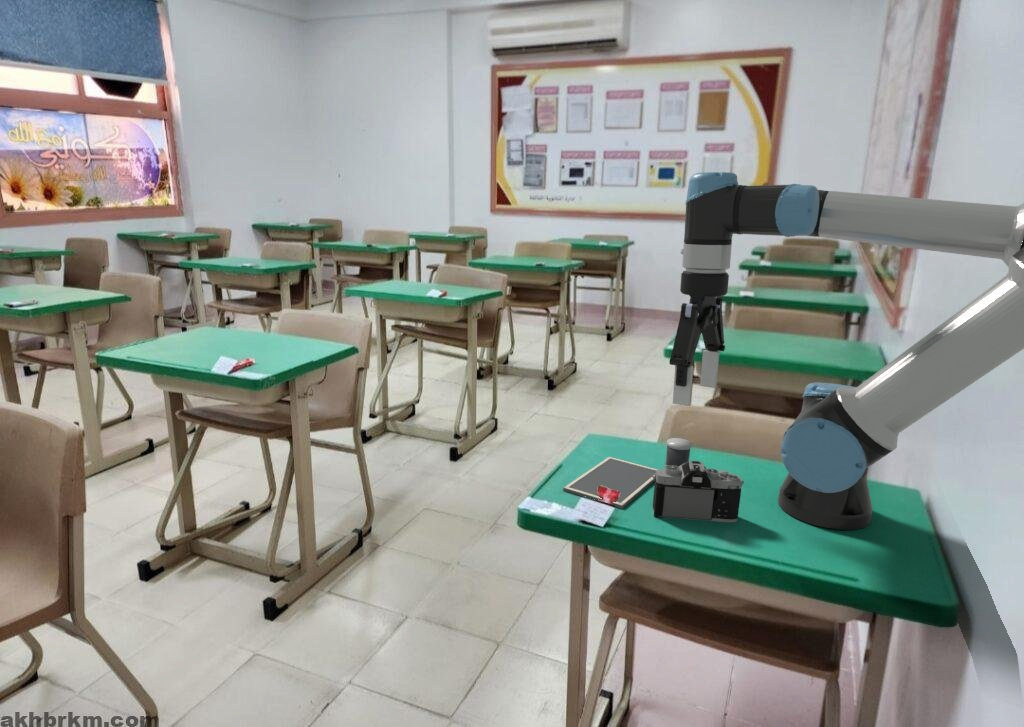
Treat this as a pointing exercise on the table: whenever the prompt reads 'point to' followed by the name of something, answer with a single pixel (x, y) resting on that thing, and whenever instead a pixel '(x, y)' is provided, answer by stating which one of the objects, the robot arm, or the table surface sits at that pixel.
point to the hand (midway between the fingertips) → (695, 395)
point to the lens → (677, 451)
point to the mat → (613, 480)
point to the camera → (696, 493)
